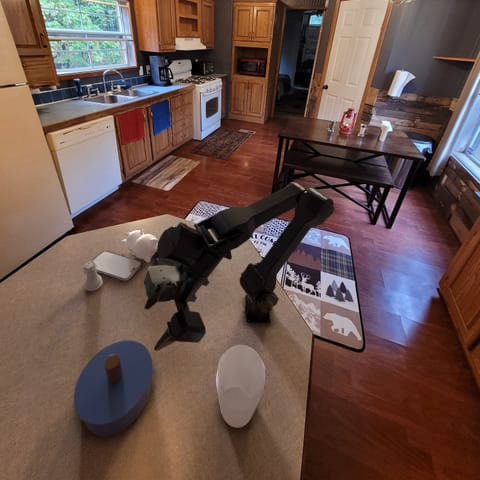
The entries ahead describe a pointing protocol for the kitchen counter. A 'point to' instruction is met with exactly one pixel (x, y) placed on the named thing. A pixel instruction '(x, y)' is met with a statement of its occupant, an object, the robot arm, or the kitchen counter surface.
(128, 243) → the white rounded figure
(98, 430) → the tin
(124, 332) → the kitchen counter surface
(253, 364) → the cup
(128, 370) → the lid
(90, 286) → the rook chess piece
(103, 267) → the smartphone
